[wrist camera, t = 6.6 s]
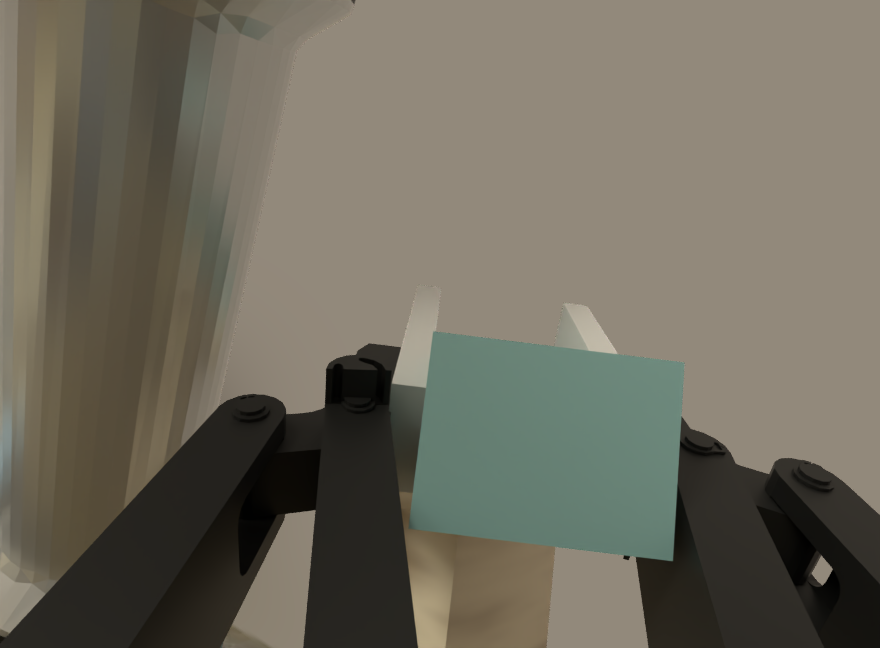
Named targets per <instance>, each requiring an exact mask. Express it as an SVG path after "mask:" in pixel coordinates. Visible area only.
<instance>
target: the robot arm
mask: <svg viewBox="0 0 880 648" xmlns="http://www.w3.org/2000/svg"><path fill="white" fill-rule="evenodd" d="M354 3H355V0H0V648H222V645H223V641H224V639H225V637H226V635H227V633H228V631H229V629H230V627H231V625H232V623H233V621H234V619H235V617H236V615H237V613H238V611H239V609H240V607H241V605H242V603H243V601H244V599H245V597H246V595H247V593H248V591H249V589H250V587H251V585H252V583H253V581H254V579H255V577H256V575H257V573H258V571H259V569H260V567H261V565H262V563H263V561H264V559H265V557H266V555H267V553H268V551H269V549H270V547H271V545H272V543H273V541H274V539H275V537H276V535H277V533H278V531H279V529H280V527H281V525H282V523H283V521H284V518H285V514H288V513H296V512H303V511H311V510H316V512H315V513H316V514H315V524H314V534H313V546H312V557H311V568H310V579H309V591H308V602H307V614H306V625H305V636H304V647H303V648H418V642H417V634H416V626H415V618H414V609H413V601H412V593H411V585H410V576H409V568H408V560H407V552H406V543H405V535H404V527H403V519H402V510H401V502H400V494H399V491H400V492H408V493H413V487H414V480H415V472H416V464H417V456H418V448H419V440H420V432H421V424H422V416H423V408H424V400H425V392H426V384H427V376H428V368H429V360H430V352H431V344H432V336H433V331H434V332H436V327H437V319H438V311H439V302H440V295H441V288H440V287H433V286H425V285H418V287H417V291H416V295H415V299H414V302H413V306H412V309H411V313H410V317H409V321H408V324H407V328H406V332H405V336H404V339H403V343H402V346H401V347H394V346H385V345H377V344H368V345H366V346H364V347H363V348H361V349H360V350H358V352H357V354H356V355H350V356H344V357H340V358H337V359H335V360H333V361H332V362H330V363H329V365H328V366H327V369H326V395H325V408H323V409H321V410H317V411H314V412H309V413H300V414H286V408H285V406H284V404H283V403H282V402H281V401H279V400H278V399H276V398H274V397H270V396H266V395H256V394H249V395H242V396H238V397H236V398H233V399H230V400H227V401H226V402H224V403H223V404H222V405H220V406H219V402H220V398H221V393H222V389H223V384H224V379H225V375H226V371H227V366H228V361H229V357H230V352H231V348H232V343H233V339H234V334H235V330H236V325H237V320H238V316H239V312H240V307H241V303H242V297H243V294H244V289H245V284H246V280H247V275H248V271H249V266H250V262H251V257H252V253H253V248H254V243H255V239H256V234H257V230H258V225H259V220H260V216H261V212H262V207H263V203H264V198H265V194H266V189H267V185H268V180H269V175H270V171H271V166H272V162H273V157H274V153H275V148H276V144H277V139H278V135H279V130H280V126H281V121H282V116H283V112H284V108H285V103H286V98H287V94H288V89H289V85H290V80H291V76H292V71H293V67H294V62H295V58H296V53H297V50H299V48H300V47H301V46H302V45H303V44H304V43H305V42H306V41H307V40H308V39H310V38H311V37H313V36H315V35H317V34H318V33H320V32H322V31H324V30H325V29H327V28H329V27H331V26H332V25H334V24H336V23H337V22H339V21H341V20H343V19H345V18H346V17H348V16H350V15H351V14H352V11H353V8H354ZM554 346H555V347H563V348H571V349H579V350H587V351H595V352H603V353H611V354H618V353H617V352H616V350H615V349H614V347H613V346H612V344H611V342H610V341H609V339H608V338H607V336H606V335H605V333H604V332H603V330H602V328H601V327H600V325H599V324H598V322H597V321H596V319H595V318H594V316H593V315H592V313H591V311H590V310H589V308H588V307H587V306H585V305H577V304H569V303H563V308H562V312H561V317H560V321H559V326H558V330H557V335H556V339H555V344H554ZM821 555H822V556H823V558H824V559H825V560H826V561H827V562H828V563H829V564H830V566H831V567H832V568H833V570H832V572H831V574H830V576H829V577H828V579H827V581H826V583H825V584H824V585H823V586H822V585H821V584H820V583H819V582H817V580H816V579H815V578H814V577H813V575H812V574H811V573H812V571H813V570H814V568H815V566H816V564H817V562H818V560H819V558H820V557H821ZM629 558H630V556H626V555H624V558H623V559H626V560H629ZM636 562H637V569H638V576H639V583H640V590H641V597H642V604H643V610H644V618H645V625H646V632H647V638H648V646H649V648H880V515H879V514H878V513H877V512H876V511H875V510H873V509H872V508H871V507H870V506H869V505H868V504H867V503H866V502H865V501H864V500H863V499H862V498H860V497H859V496H858V495H857V494H856V493H855V492H854V491H853V490H852V489H851V488H850V487H849V486H847V485H846V484H845V483H844V482H843V481H842V480H840V479H839V478H837V477H836V476H835V475H834V474H832V473H830V472H828V471H826V470H825V469H823V468H822V467H821V466H819V465H816V464H814V463H813V464H811V462H808V461H805V460H797V459H792V458H782V459H779V460H777V461H776V462H775V463H774V465H773V467H772V469H771V472H770V474H766V473H763V472H759V471H756V470H753V469H749V468H746V467H743V466H740V465H737V464H736V463H735V461H734V459H733V457H732V455H731V453H730V452H729V451H728V449H727V448H726V447H725V446H724V445H723V444H722V443H720V442H719V441H718V440H716V439H715V438H713V437H711V436H708V435H707V434H704V433H702V432H699V431H695V430H692V429H690V428H689V426H688V425H687V423H686V422H685V421H684V419H683V418H682V416H681V431H680V448H679V465H678V482H677V499H676V516H675V533H674V550H673V561H667V560H659V559H651V558H643V557H636Z"/></svg>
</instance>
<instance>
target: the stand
mask: <svg viewBox="0 0 880 648" xmlns="http://www.w3.org/2000/svg"><path fill="white" fill-rule="evenodd" d="M399 494H400V502H401V510H402V519H403V527H404V535H405V543H406V552H407V560H408V568H409V576H410V585H411V593H412V601H413V609H414V618H415V626H416V634H417V642H418V648H546V646H547V634H548V623H549V611H550V600H551V588H552V577H553V566H554V555H555V547H553V546H545V545H537V544H529V543H521V542H512V541H504V540H496V539H488V538H480V537H472V536H464V535H455V534H447V533H439V532H431V531H423V530H415V529H408V527H409V519H410V511H411V503H412V495H413V493H408V492H400V491H399Z"/></svg>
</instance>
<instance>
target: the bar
mask: <svg viewBox="0 0 880 648" xmlns="http://www.w3.org/2000/svg"><path fill="white" fill-rule="evenodd" d="M683 379H684V363H683V362H675V361H668V360H659V359H652V358H644V357H635V356H627V355H619V354H611V353H603V352H595V351H587V350H579V349H571V348H563V347H555V346H547V345H539V344H531V343H523V342H514V341H506V340H499V339H490V338H483V337H474V336H466V335H458V334H450V333H442V332H434V331H433V336H432V344H431V352H430V360H429V368H428V376H427V384H426V392H425V400H424V408H423V416H422V424H421V432H420V440H419V448H418V456H417V464H416V472H415V480H414V487H413V495H412V503H411V511H410V519H409V527H408V529H415V530H423V531H431V532H439V533H447V534H455V535H464V536H472V537H480V538H488V539H496V540H504V541H512V542H521V543H529V544H537V545H545V546H553V547H561V548H569V549H577V550H586V551H594V552H602V553H610V554H618V555H626V556H634V557H643V558H651V559H659V560H667V561H673V550H674V533H675V516H676V499H677V482H678V465H679V448H680V431H681V413H682V397H683Z"/></svg>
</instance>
